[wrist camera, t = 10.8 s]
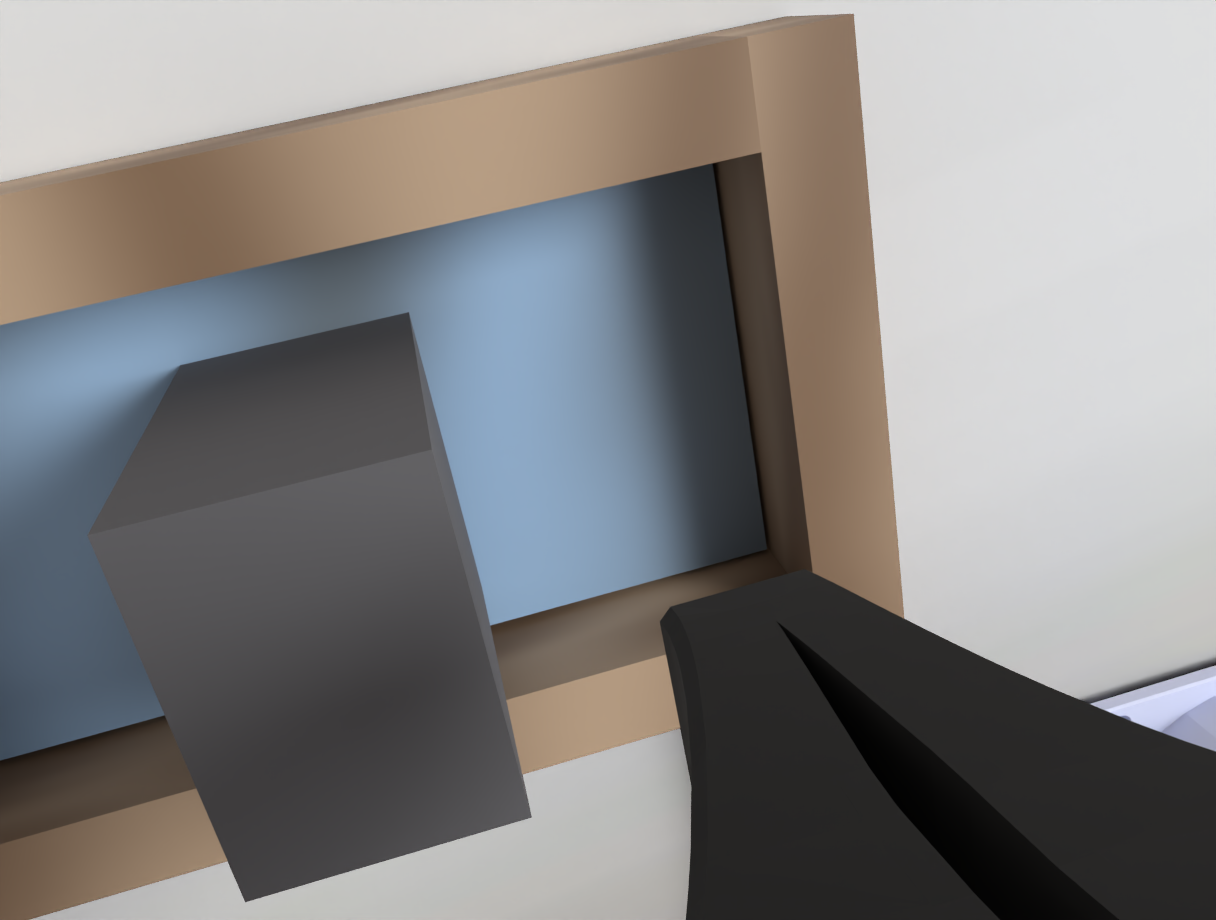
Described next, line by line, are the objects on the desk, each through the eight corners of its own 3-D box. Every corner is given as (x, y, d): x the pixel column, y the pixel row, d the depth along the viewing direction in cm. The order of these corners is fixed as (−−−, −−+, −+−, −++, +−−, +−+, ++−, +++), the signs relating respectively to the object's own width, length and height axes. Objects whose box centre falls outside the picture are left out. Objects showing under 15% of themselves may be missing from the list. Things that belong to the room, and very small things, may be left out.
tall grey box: (409, 311, 16) (431, 449, 11) (481, 586, 18) (532, 817, 13) (180, 365, 16) (87, 536, 11) (280, 640, 18) (245, 901, 13)
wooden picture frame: (785, 16, 16) (853, 14, 14) (883, 925, 24) (937, 1018, 22) (-397, 266, 14) (-540, 310, 12) (127, 1172, 22) (100, 1302, 20)
